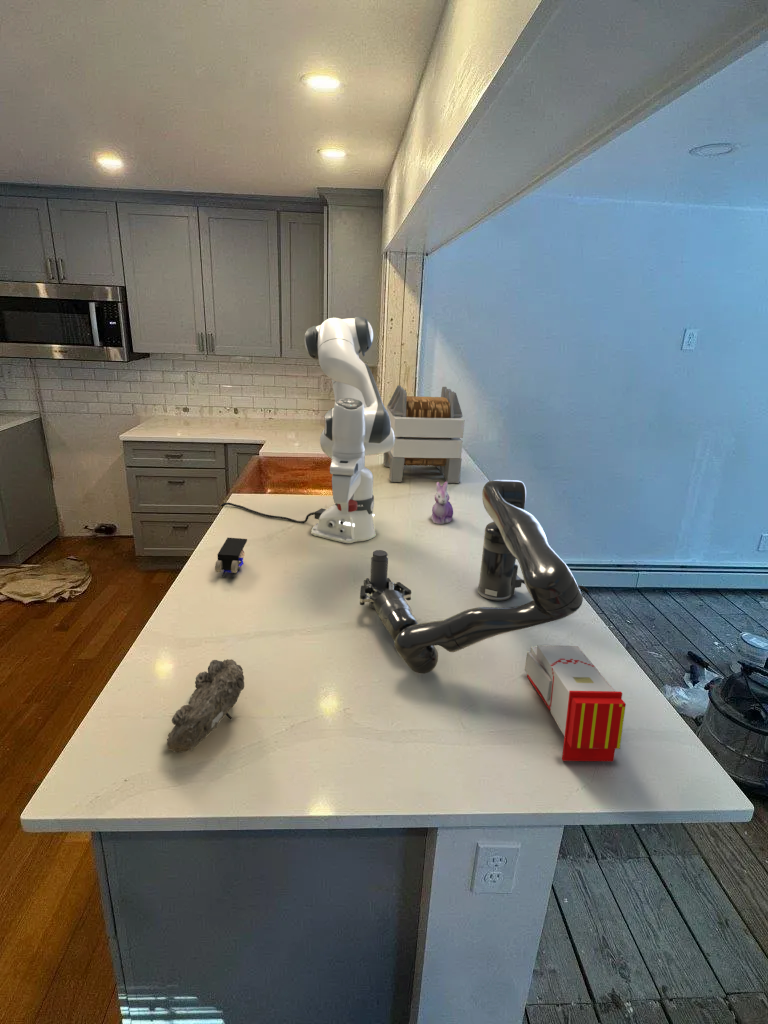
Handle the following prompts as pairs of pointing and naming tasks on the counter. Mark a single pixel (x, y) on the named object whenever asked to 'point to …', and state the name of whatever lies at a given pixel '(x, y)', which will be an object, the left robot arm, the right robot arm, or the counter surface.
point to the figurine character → (230, 556)
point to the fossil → (206, 705)
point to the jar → (379, 570)
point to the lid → (350, 505)
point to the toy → (578, 701)
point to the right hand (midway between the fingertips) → (375, 580)
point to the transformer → (425, 433)
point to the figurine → (442, 505)
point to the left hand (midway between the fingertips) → (347, 509)
